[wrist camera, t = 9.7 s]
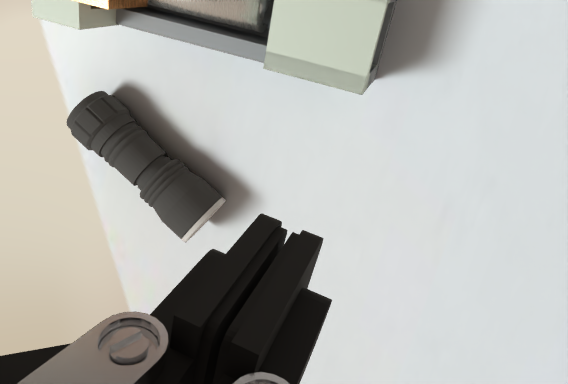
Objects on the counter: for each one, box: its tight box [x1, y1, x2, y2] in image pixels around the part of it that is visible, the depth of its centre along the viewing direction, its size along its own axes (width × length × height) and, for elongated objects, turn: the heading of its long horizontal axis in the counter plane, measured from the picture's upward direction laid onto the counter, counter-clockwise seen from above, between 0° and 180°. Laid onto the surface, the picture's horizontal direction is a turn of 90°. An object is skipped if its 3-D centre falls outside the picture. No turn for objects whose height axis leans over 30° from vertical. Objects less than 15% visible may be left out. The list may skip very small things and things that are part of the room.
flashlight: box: [67, 91, 226, 243], centre depth 42 cm, size 15×5×5 cm, turn 50°
